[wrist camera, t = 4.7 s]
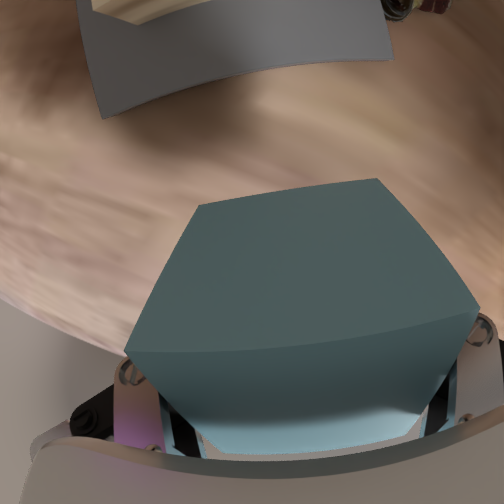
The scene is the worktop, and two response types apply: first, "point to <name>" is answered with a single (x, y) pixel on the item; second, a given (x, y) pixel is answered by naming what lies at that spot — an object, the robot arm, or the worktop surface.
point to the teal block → (303, 320)
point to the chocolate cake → (401, 4)
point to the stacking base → (217, 41)
